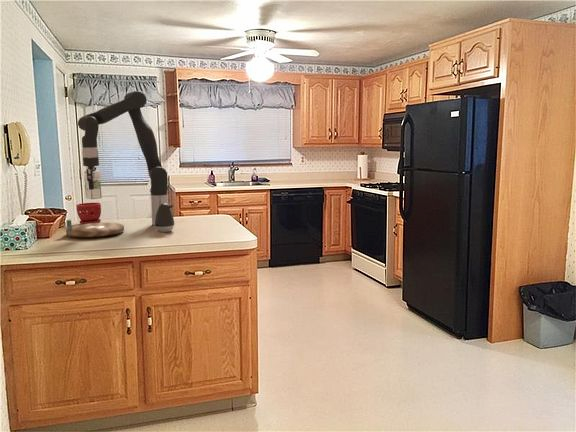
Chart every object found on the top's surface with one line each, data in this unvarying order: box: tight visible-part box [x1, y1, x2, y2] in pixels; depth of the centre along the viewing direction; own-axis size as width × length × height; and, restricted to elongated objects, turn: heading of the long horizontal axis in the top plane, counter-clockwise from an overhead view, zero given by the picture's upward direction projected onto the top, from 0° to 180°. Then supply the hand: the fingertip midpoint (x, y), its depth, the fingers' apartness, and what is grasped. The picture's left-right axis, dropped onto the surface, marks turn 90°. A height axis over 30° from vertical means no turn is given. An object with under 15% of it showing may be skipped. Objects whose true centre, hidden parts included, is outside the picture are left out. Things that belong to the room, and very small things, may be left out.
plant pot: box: [76, 202, 102, 225], centre depth 273 cm, size 13×13×12 cm
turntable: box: [65, 219, 125, 238], centre depth 245 cm, size 28×28×7 cm
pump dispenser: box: [154, 203, 175, 233], centre depth 250 cm, size 10×10×15 cm
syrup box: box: [83, 169, 102, 200], centre depth 241 cm, size 6×6×14 cm
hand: (92, 188), depth 241 cm, fingers closed on syrup box, 7 cm apart
